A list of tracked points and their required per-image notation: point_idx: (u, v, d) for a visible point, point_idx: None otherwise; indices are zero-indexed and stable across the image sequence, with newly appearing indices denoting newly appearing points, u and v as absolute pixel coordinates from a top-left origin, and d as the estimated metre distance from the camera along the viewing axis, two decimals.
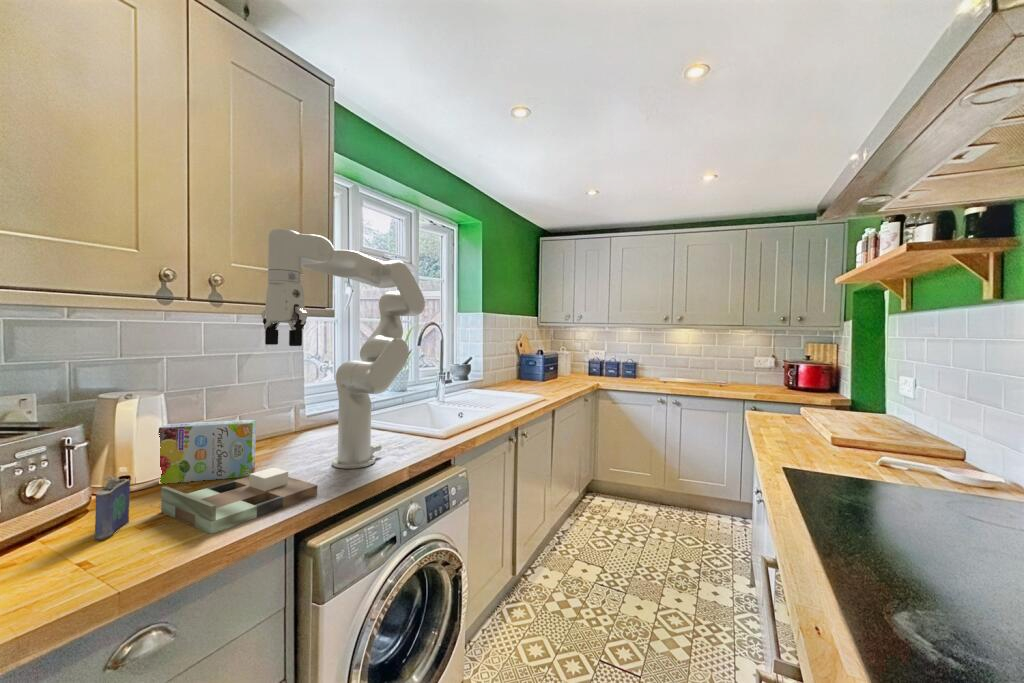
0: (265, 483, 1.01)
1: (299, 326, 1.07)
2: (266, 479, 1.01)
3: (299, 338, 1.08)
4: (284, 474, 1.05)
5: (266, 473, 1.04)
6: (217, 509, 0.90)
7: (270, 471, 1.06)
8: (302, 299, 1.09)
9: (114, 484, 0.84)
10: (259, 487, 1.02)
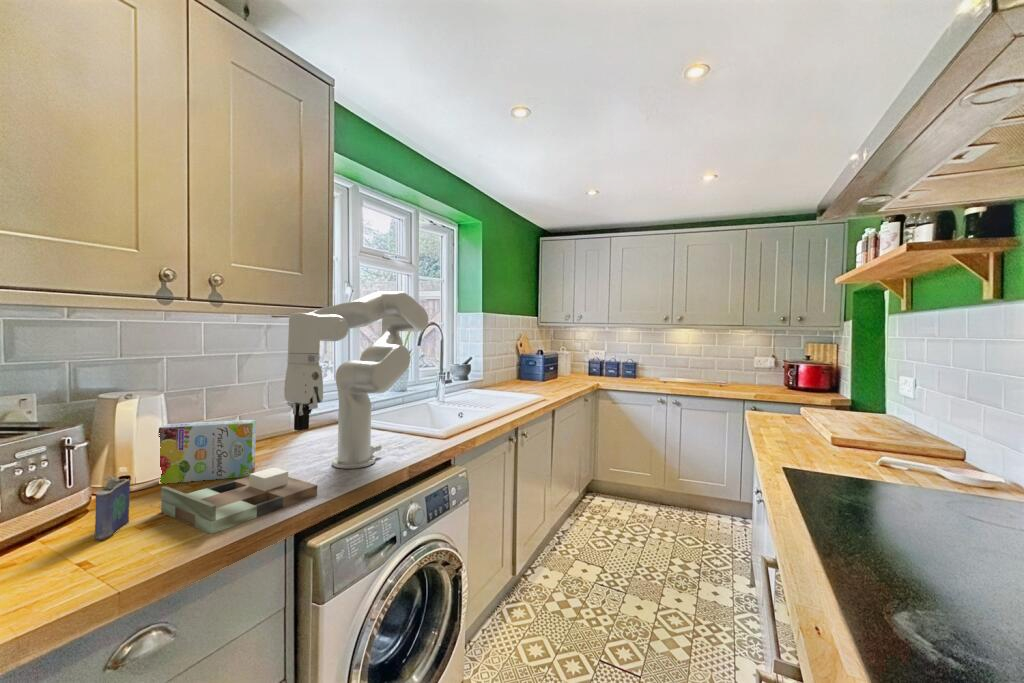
0: (265, 483, 1.01)
1: (306, 412, 1.11)
2: (266, 479, 1.01)
3: (306, 422, 1.12)
4: (284, 474, 1.05)
5: (266, 473, 1.04)
6: (217, 509, 0.90)
7: (270, 471, 1.06)
8: (321, 380, 1.11)
9: (114, 484, 0.84)
10: (259, 487, 1.02)
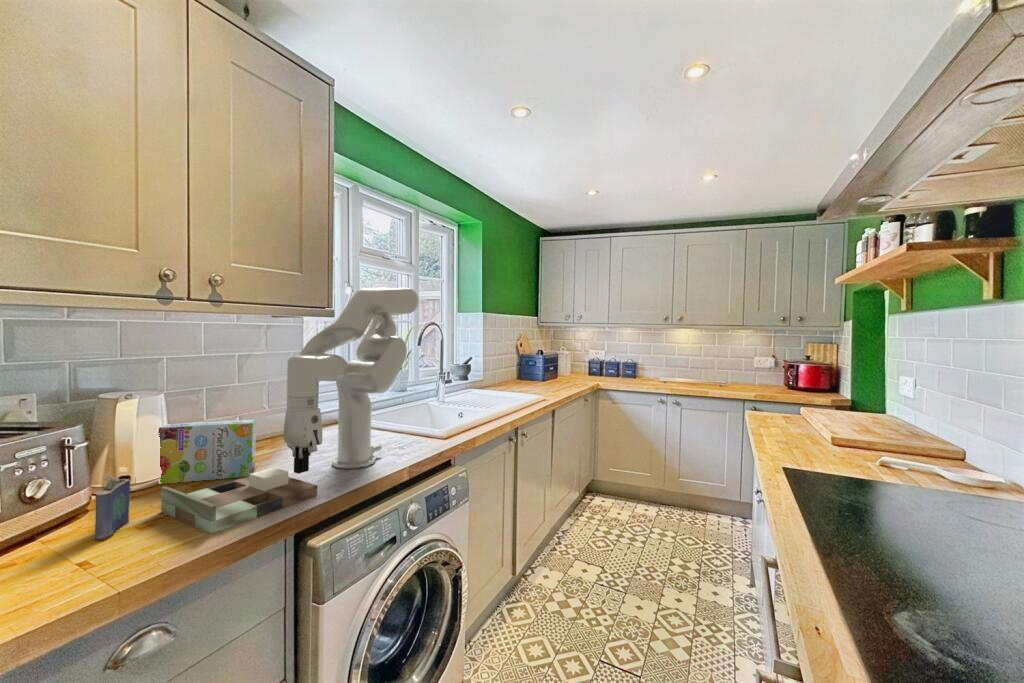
0: (265, 483, 1.01)
1: (306, 454, 1.11)
2: (266, 479, 1.01)
3: (306, 465, 1.12)
4: (284, 474, 1.05)
5: (266, 473, 1.04)
6: (217, 509, 0.90)
7: (270, 471, 1.06)
8: (320, 423, 1.11)
9: (114, 484, 0.84)
10: (259, 487, 1.02)
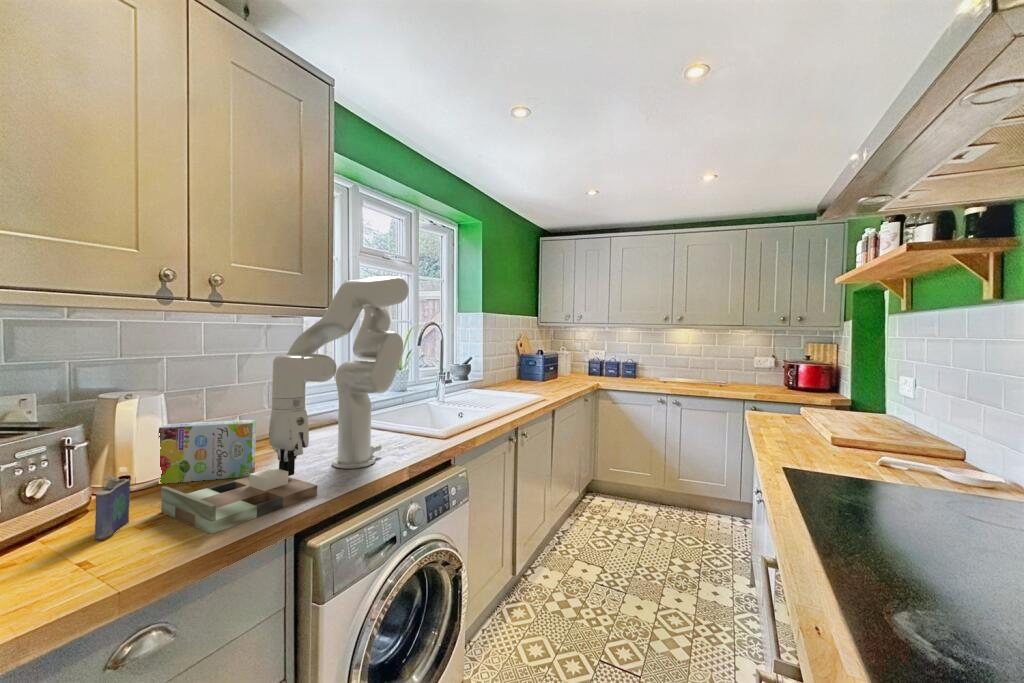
0: (265, 483, 1.01)
1: (292, 458, 1.07)
2: (266, 479, 1.01)
3: (291, 468, 1.08)
4: (284, 474, 1.05)
5: (266, 473, 1.04)
6: (217, 509, 0.90)
7: (270, 471, 1.06)
8: (306, 425, 1.08)
9: (114, 484, 0.84)
10: (259, 487, 1.02)
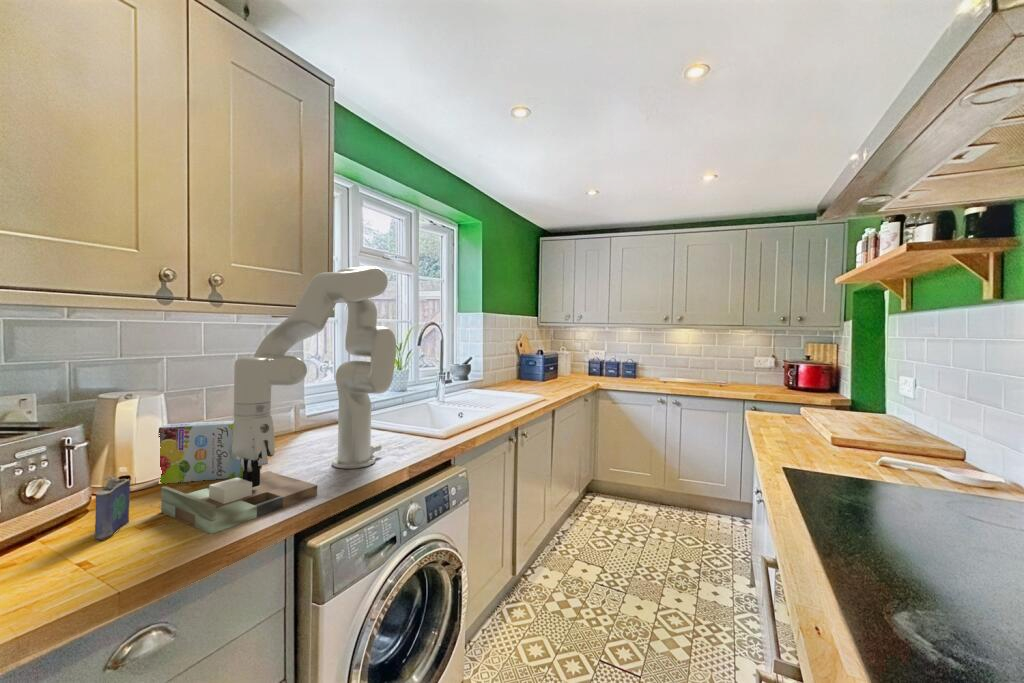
0: (225, 495, 0.93)
1: (256, 467, 0.99)
2: (226, 491, 0.93)
3: (256, 479, 1.01)
4: (247, 485, 0.97)
5: (227, 483, 0.97)
6: (217, 509, 0.90)
7: (232, 482, 0.98)
8: (271, 432, 1.00)
9: (114, 484, 0.84)
10: (219, 499, 0.94)
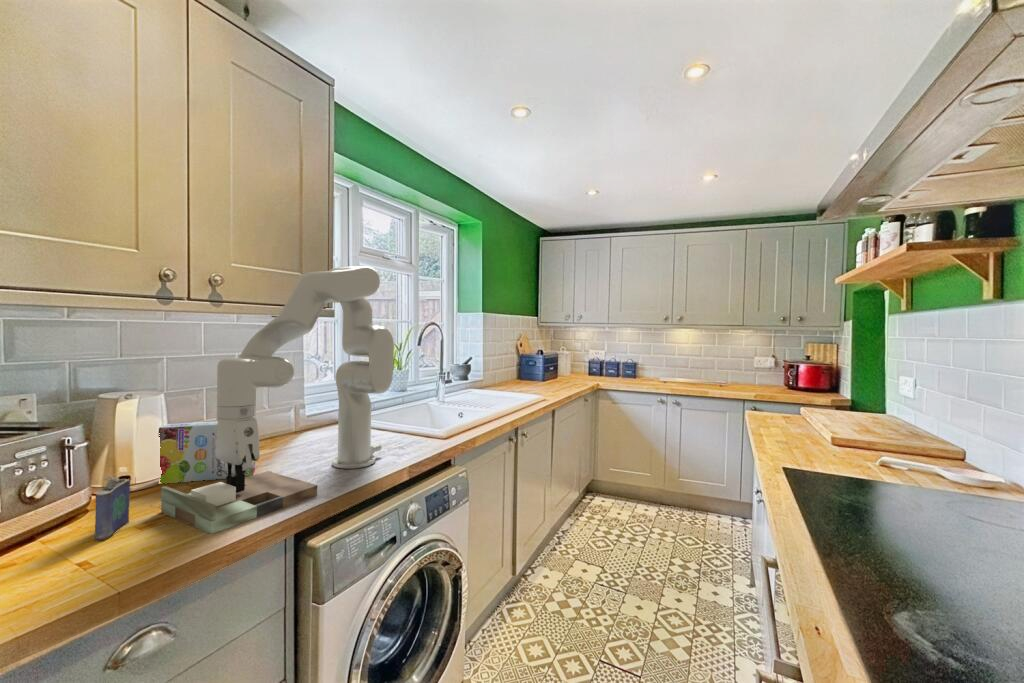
0: (207, 500, 0.90)
1: (240, 472, 0.96)
2: (208, 496, 0.90)
3: (241, 484, 0.97)
4: (230, 489, 0.94)
5: (210, 488, 0.93)
6: (217, 509, 0.90)
7: (215, 486, 0.95)
8: (256, 436, 0.97)
9: (114, 484, 0.84)
10: None
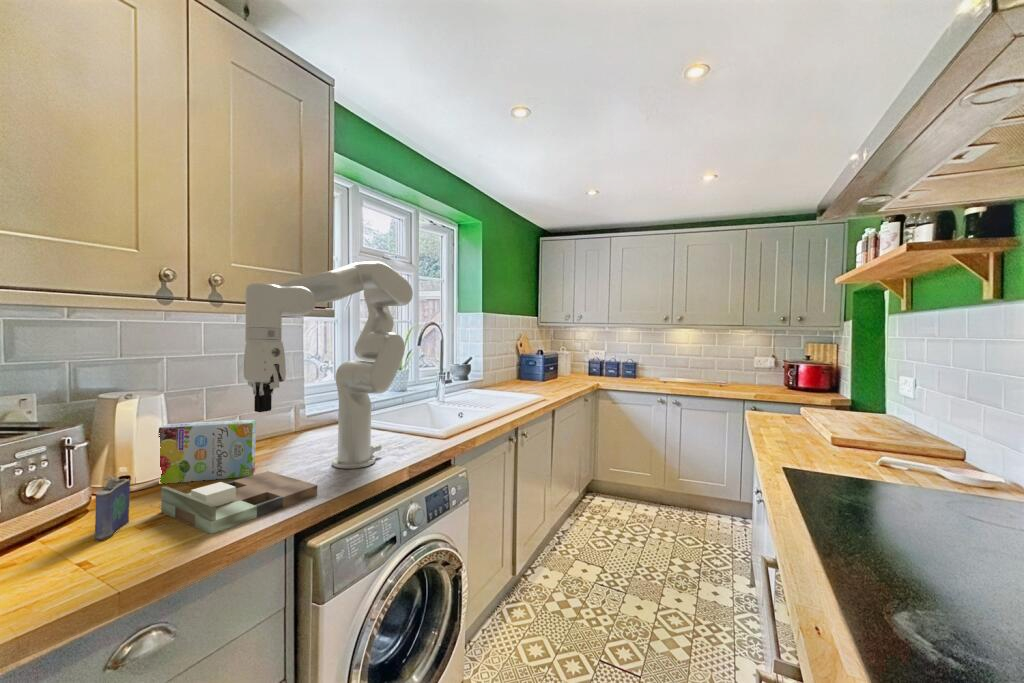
0: (207, 500, 0.90)
1: (267, 391, 1.01)
2: (208, 496, 0.90)
3: (268, 403, 1.03)
4: (230, 489, 0.94)
5: (210, 488, 0.93)
6: (217, 509, 0.90)
7: (215, 486, 0.95)
8: (283, 357, 1.02)
9: (114, 484, 0.84)
10: None
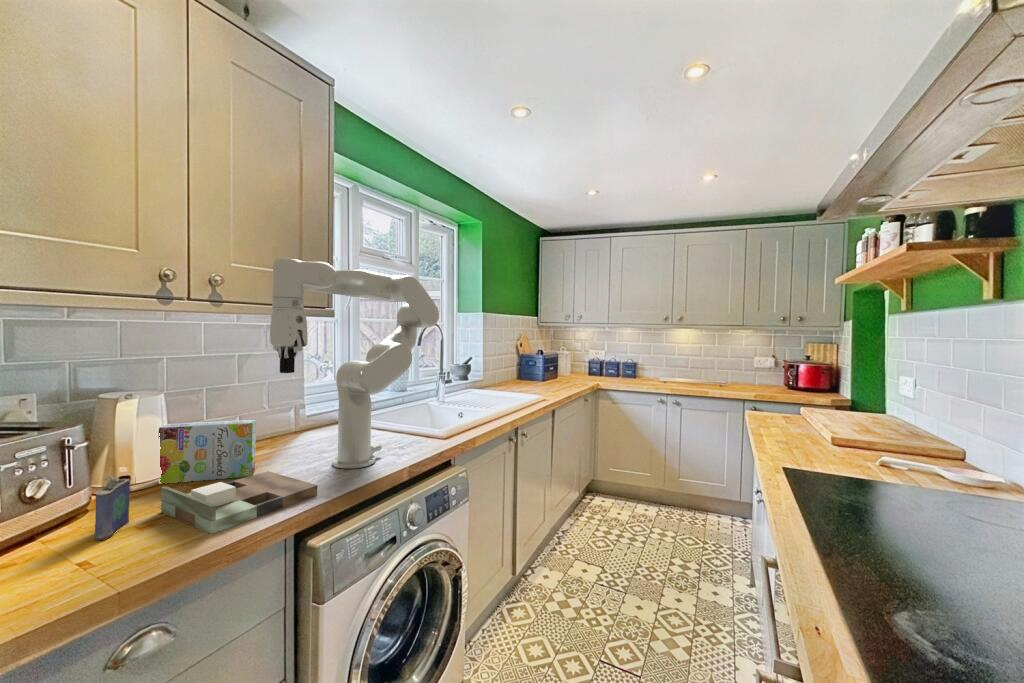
0: (207, 500, 0.90)
1: (291, 355, 1.14)
2: (208, 496, 0.90)
3: (292, 366, 1.15)
4: (230, 489, 0.94)
5: (210, 488, 0.93)
6: (217, 509, 0.90)
7: (215, 486, 0.95)
8: (305, 324, 1.15)
9: (114, 484, 0.84)
10: None
